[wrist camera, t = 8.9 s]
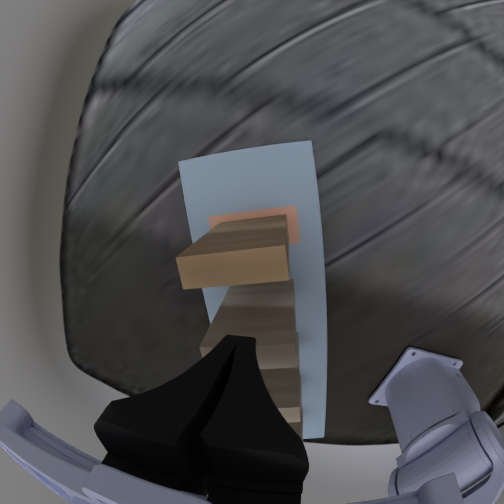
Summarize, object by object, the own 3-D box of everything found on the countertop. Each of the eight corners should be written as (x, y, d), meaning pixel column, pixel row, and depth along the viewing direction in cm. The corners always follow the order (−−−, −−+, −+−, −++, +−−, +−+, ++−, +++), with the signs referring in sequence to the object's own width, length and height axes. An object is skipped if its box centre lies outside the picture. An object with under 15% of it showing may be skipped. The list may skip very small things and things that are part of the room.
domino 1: (288, 235, 20) (289, 280, 12) (223, 243, 21) (183, 289, 13) (286, 214, 20) (285, 245, 11) (219, 222, 20) (175, 257, 12)
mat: (323, 434, 27) (323, 437, 26) (244, 437, 28) (243, 439, 28) (310, 141, 18) (311, 140, 18) (180, 161, 20) (178, 161, 19)
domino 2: (295, 296, 21) (297, 367, 13) (234, 301, 22) (206, 369, 14) (293, 278, 21) (295, 343, 13) (230, 283, 22) (199, 346, 14)
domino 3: (299, 346, 23) (300, 421, 15) (243, 349, 24) (224, 422, 15) (298, 332, 22) (299, 406, 14) (240, 335, 23) (219, 407, 15)
